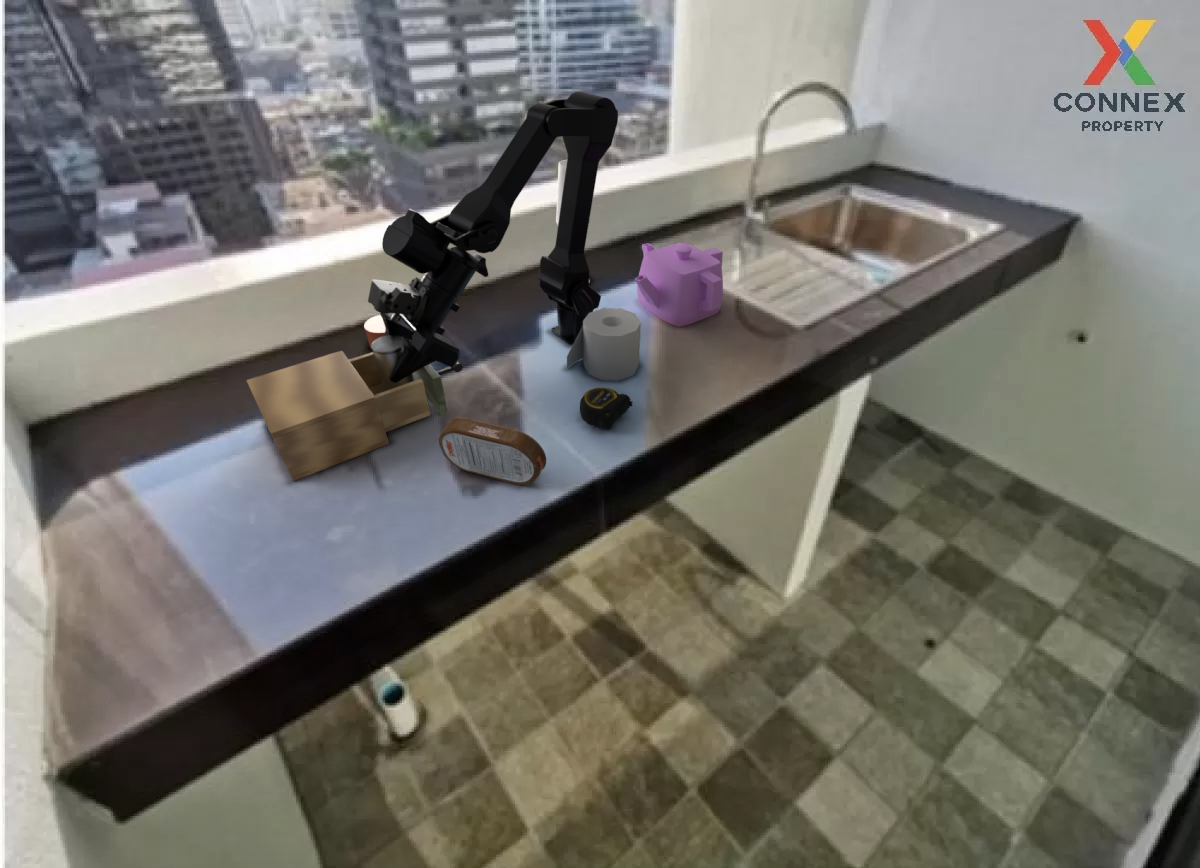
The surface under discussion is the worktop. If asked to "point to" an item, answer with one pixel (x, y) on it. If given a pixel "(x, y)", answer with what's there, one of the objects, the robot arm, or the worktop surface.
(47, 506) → the worktop surface
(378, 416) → the cabinet
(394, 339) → the cylinder
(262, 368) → the worktop surface
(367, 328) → the stand
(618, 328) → the toilet tissue
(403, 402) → the drawer
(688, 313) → the teakettle
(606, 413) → the tape measure
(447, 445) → the tin
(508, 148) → the robot arm
